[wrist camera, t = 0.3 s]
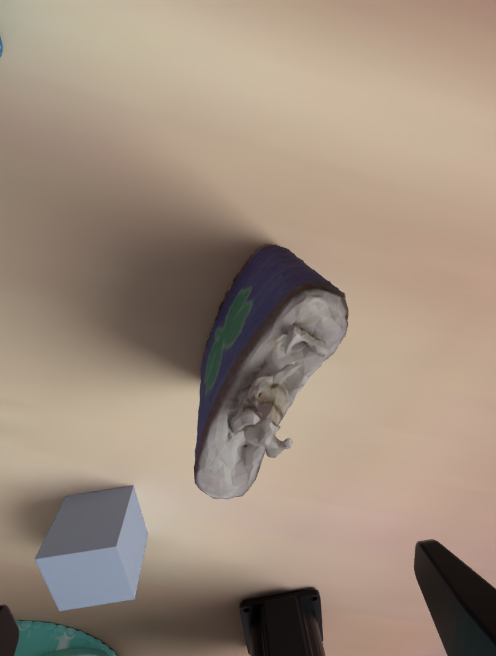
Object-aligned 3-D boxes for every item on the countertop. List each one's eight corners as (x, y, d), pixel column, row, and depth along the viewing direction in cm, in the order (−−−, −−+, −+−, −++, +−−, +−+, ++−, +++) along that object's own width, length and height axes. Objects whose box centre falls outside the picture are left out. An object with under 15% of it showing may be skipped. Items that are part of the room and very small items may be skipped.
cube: (148, 532, 26) (134, 599, 21) (85, 542, 26) (59, 611, 21) (133, 484, 24) (116, 546, 20) (66, 495, 24) (34, 559, 20)
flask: (231, 391, 22) (243, 555, 12) (186, 374, 21) (160, 533, 11) (303, 255, 19) (394, 319, 9) (255, 231, 19) (298, 272, 9)
